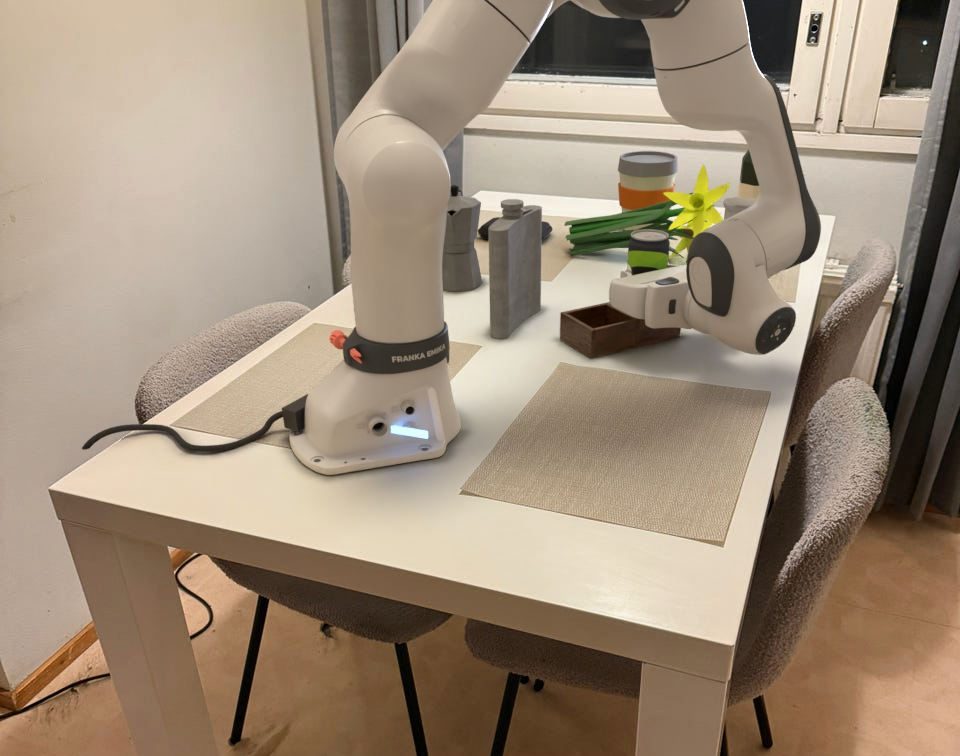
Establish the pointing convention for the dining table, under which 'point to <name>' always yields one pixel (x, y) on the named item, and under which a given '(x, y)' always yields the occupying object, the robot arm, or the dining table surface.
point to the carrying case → (484, 228)
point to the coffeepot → (461, 243)
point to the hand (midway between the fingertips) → (642, 271)
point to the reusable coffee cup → (645, 179)
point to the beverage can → (648, 251)
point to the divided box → (608, 330)
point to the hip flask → (514, 266)
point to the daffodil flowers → (651, 220)
